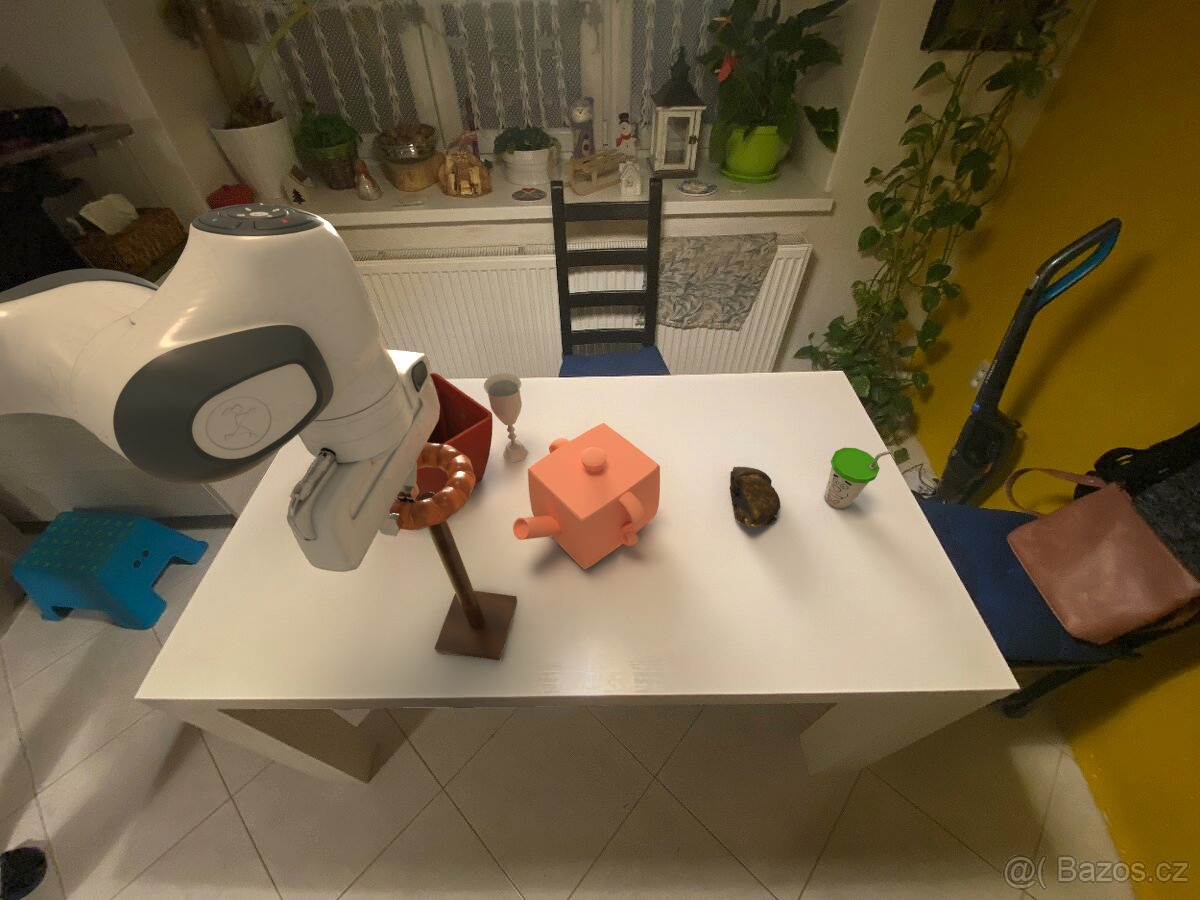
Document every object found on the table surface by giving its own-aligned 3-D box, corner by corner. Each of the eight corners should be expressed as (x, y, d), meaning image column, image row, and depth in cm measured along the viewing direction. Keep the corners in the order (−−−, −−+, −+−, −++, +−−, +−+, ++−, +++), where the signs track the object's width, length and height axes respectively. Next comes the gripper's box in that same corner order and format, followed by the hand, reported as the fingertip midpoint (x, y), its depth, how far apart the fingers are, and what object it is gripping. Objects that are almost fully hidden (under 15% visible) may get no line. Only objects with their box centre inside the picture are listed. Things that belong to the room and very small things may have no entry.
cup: (806, 497, 97) (831, 441, 86) (831, 478, 100) (858, 422, 89) (842, 523, 93) (873, 468, 82) (867, 502, 96) (899, 447, 85)
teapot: (565, 620, 80) (557, 559, 67) (488, 532, 92) (468, 466, 79) (673, 533, 92) (684, 466, 79) (592, 464, 103) (590, 397, 91)
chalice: (537, 457, 105) (527, 389, 92) (507, 470, 103) (492, 402, 90) (523, 436, 110) (511, 368, 97) (493, 448, 107) (477, 380, 94)
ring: (454, 541, 51) (449, 524, 49) (347, 527, 53) (337, 510, 51) (489, 460, 60) (485, 443, 58) (395, 450, 61) (389, 433, 59)
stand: (500, 661, 76) (454, 542, 53) (436, 652, 77) (365, 531, 54) (517, 600, 83) (483, 471, 60) (458, 592, 84) (403, 463, 61)
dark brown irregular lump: (718, 469, 102) (732, 445, 97) (760, 477, 103) (775, 453, 98) (730, 536, 90) (747, 513, 85) (777, 544, 91) (796, 521, 86)
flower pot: (452, 432, 111) (433, 369, 99) (508, 477, 101) (494, 414, 89) (372, 480, 101) (341, 417, 89) (426, 535, 92) (398, 473, 80)
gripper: (323, 515, 34) (386, 611, 44) (434, 344, 48) (463, 446, 58) (238, 505, 35) (319, 602, 45) (372, 340, 49) (412, 441, 59)
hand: (401, 513), depth 52 cm, fingers closed on ring, 3 cm apart
